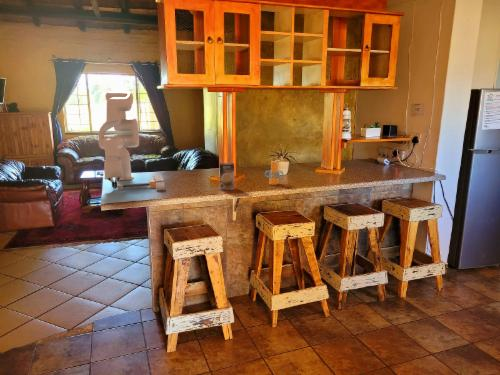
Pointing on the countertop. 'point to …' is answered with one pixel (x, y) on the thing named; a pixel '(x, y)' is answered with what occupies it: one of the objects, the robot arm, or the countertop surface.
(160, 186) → the motor housing
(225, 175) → the coffee box
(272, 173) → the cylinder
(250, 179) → the countertop surface
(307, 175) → the countertop surface
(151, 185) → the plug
